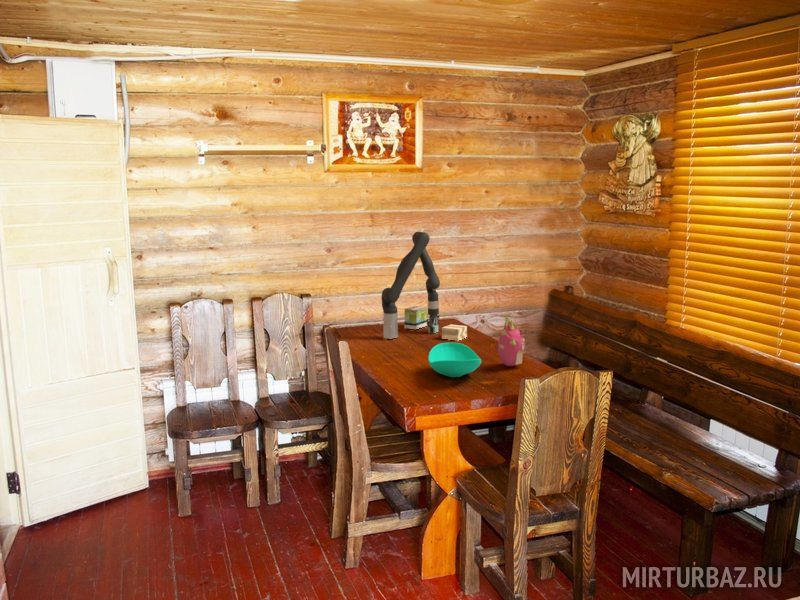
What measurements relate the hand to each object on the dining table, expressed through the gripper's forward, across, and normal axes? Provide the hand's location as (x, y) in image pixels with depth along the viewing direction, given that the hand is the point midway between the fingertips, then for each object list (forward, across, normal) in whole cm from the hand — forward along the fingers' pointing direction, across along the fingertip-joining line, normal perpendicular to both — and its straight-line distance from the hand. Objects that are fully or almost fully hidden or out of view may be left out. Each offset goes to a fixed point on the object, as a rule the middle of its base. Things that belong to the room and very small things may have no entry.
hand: (433, 331), depth 471 cm
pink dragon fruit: (+1, -56, -77) cm, 95 cm away
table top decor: (+1, -86, -57) cm, 103 cm away
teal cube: (+1, 0, 0) cm, 1 cm away
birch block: (+1, -9, -20) cm, 22 cm away
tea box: (+1, +8, +18) cm, 20 cm away
